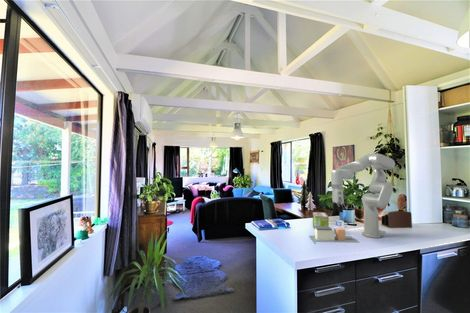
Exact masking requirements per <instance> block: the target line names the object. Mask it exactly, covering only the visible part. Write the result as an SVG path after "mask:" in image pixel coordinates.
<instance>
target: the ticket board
mask: <svg viewBox="0 0 470 313" xmlns="http://www.w3.org/2000/svg"><path fill="white" fill-rule="evenodd" d="M308 237H309V239H310V240H311V241H312V243H314V244H315V245H316V244H317V243H345V244H346V243H347V244H348V243H351V244H352V243H353V244H355V243H356V244H357V243H358V244H360V241H358V240H357V239H356V238H354V237H353V236H351V235H345V240H338V239H336V229H334V228H333V227H331V226H315V232H314V235H308Z"/></svg>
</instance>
